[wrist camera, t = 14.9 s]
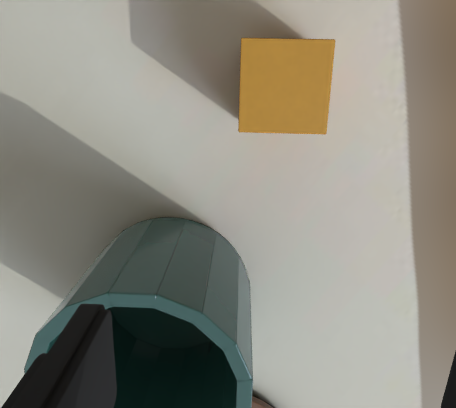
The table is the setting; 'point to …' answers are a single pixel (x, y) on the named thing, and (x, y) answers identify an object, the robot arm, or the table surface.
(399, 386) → the table surface
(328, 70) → the block
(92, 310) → the robot arm
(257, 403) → the lid
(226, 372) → the canister
